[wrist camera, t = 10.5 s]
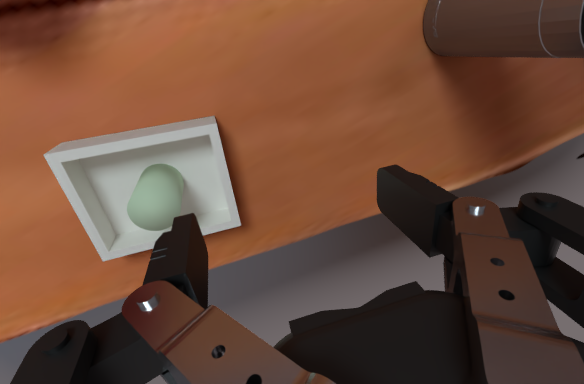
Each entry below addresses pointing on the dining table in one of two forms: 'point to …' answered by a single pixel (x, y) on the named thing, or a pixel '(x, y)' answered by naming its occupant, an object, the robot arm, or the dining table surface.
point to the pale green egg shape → (156, 198)
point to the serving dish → (127, 170)
